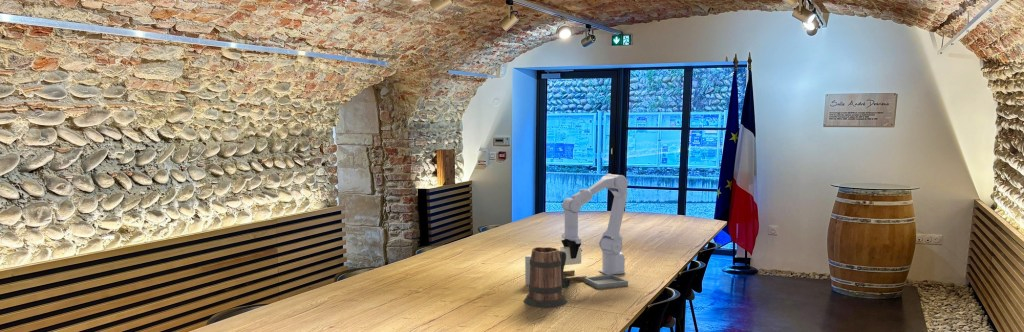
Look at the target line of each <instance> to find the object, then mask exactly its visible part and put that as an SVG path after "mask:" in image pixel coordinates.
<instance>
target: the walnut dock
mask: <svg viewBox="0 0 1024 332" xmlns="http://www.w3.org/2000/svg"><path fill="white" fill-rule="evenodd" d="M575 275H576V272H575V270H574V269H571V270H570V269H569V270H563V277H569V276H571V277H569V278H570V280H571V283H570V284H572V283H580V282H584V278H585V277H588V276H587V275H581V276H575ZM572 276H573V277H572Z"/></svg>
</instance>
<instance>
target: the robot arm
mask: <svg viewBox="0 0 1024 332" xmlns="http://www.w3.org/2000/svg"><path fill="white" fill-rule="evenodd" d="M628 183H629V181H628V180H627V178H626V177H625V175H623V174H612V173H606V174H605V175H603V176H602V177H601V178H600V179H599V180H598V181H596V182H595V183H593V184H592V185H590V187H589V188H580V189H579V191H578V192H576V193H575V194H572V195H571V197H566V198H565V199H563V202H562V204H561V208H562V209H563V214H564V233H563V232H562V233H561V240H560V242H561V243H562V245H563V246H562V247H569V248H570V255H571V259H574V258H576V257H577V253H578V249H579V247H581V245H582V239H581V238H580V237H579V212H580V210H581V208H582V207H583V206H584V205H585V204H587V203H589V202H590V201H591V200H592V199H593V196H594V195H596V194H598V193H599V192H601V191H602V190H605V189H608V191H610V192H611V194H612V195H613V200H612V205H611V210H610V215H609V219H608V225H607V228H606V230H605V231H604V232H603V233H602V235H601V238H600V239H599V241H598V246H599V248H600V250H601V252H602V266H601V267H602V269H598V272H599V273H602V274H604V275H619V274H626V271H625V266H626V265H625V262H626V261H625V259H626V258H625V254H624V253H623V252H621V251H622V250H623V240H624V239H623V237H622V235H621V232H620V230H621V227H622V222H623V217H624V213H625V209H626V208H625V207H626V203H627V199H628Z"/></svg>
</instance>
